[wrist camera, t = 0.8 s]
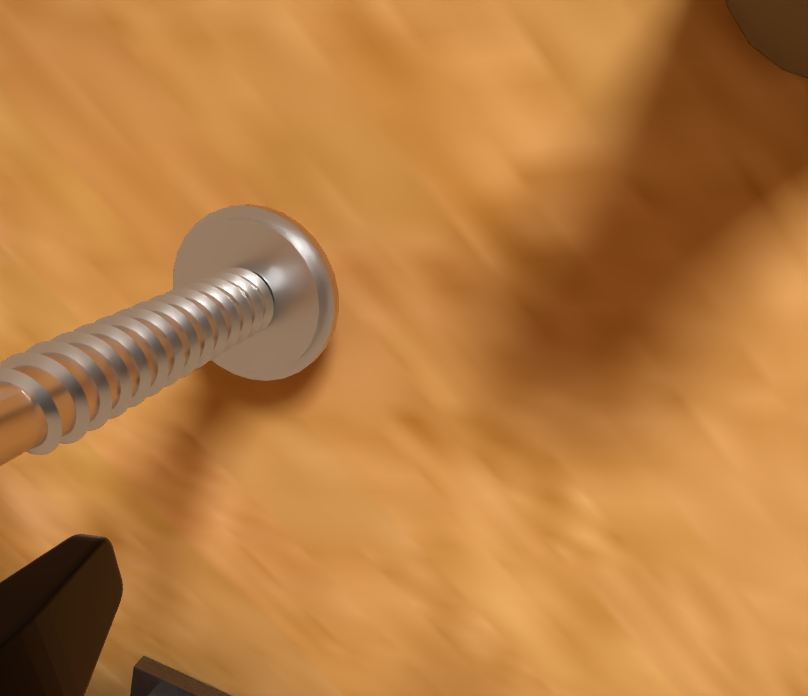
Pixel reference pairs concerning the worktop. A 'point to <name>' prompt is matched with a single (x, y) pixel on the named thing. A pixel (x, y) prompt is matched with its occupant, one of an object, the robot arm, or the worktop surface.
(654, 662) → the worktop surface
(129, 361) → the screw
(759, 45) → the cork
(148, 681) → the pivot stand
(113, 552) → the robot arm
